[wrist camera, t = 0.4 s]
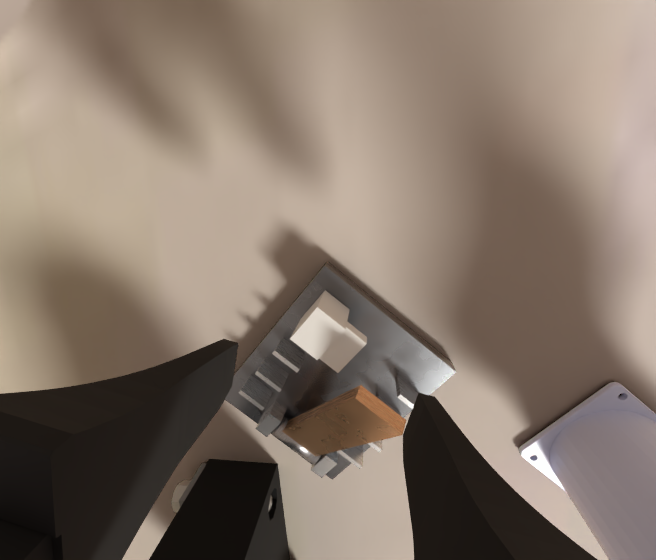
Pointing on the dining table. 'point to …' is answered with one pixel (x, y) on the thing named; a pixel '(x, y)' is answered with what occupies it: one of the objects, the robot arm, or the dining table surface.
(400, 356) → the heatsink
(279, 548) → the electrical component
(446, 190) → the dining table surface
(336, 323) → the white stepped block
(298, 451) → the brown flat bar
